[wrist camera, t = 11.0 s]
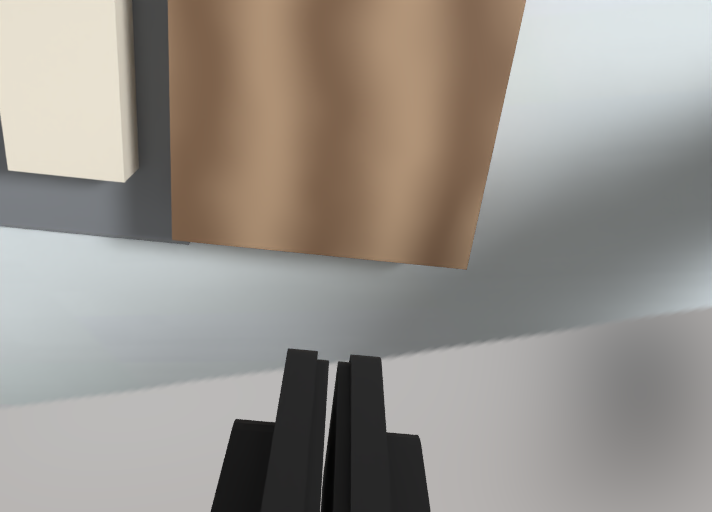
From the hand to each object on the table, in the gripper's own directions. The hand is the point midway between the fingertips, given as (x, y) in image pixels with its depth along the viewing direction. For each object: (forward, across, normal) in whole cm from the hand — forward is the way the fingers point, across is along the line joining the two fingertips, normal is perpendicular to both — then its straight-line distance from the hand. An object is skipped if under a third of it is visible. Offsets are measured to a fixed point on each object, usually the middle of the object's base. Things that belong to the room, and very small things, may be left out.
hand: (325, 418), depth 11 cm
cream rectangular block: (+22, +14, 0) cm, 26 cm away
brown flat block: (+25, 0, 0) cm, 25 cm away
